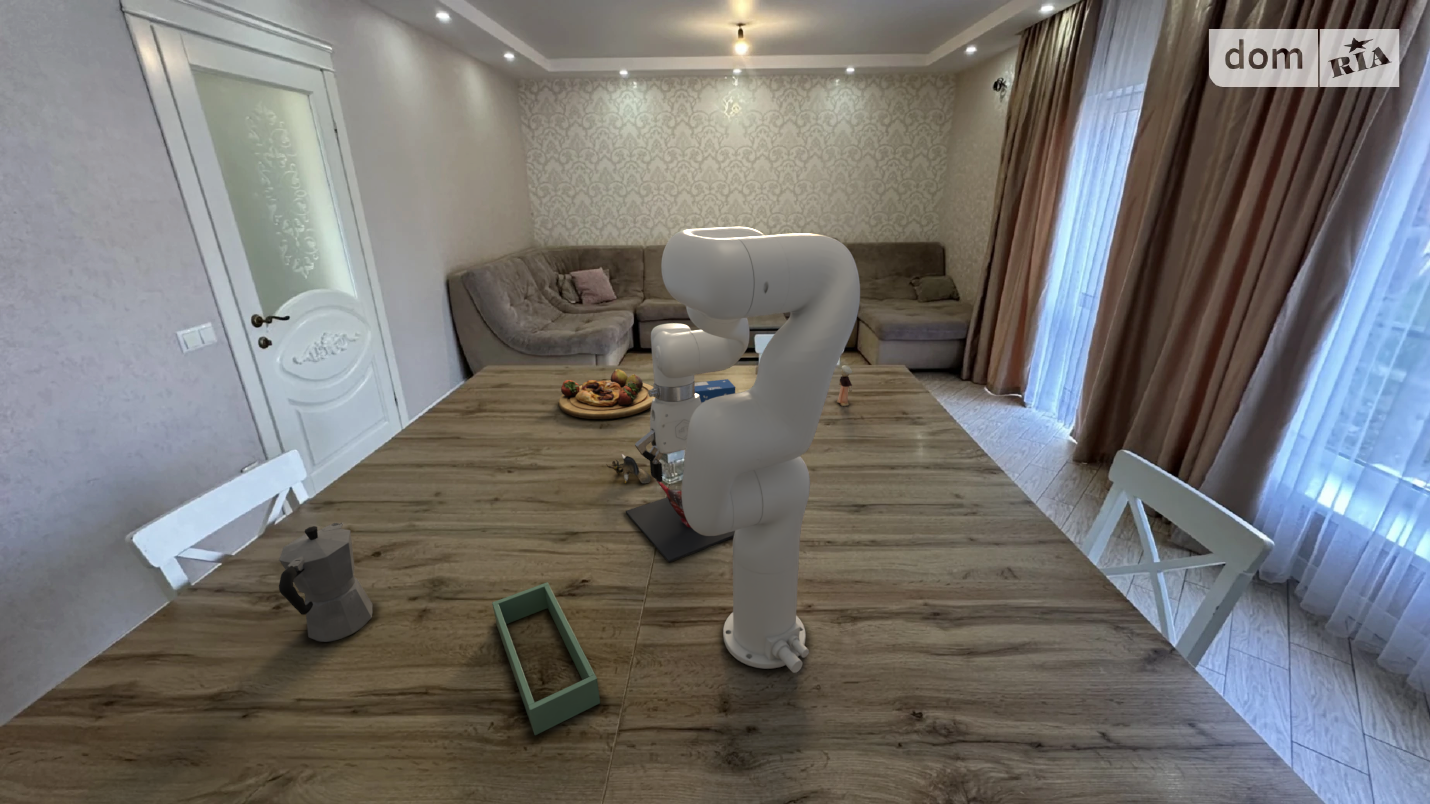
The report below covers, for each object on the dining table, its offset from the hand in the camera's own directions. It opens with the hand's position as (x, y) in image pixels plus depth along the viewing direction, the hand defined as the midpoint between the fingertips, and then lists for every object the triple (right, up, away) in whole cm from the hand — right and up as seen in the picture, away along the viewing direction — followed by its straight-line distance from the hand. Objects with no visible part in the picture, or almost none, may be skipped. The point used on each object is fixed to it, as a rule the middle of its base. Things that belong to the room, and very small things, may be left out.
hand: (679, 472), depth 109 cm
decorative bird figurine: (0, -11, +5) cm, 12 cm away
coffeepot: (-54, -22, -20) cm, 61 cm away
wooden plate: (-27, +14, +71) cm, 77 cm away
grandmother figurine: (+48, +13, +65) cm, 82 cm away
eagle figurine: (-13, -5, +23) cm, 27 cm away
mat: (0, -11, +5) cm, 12 cm away
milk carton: (+7, -1, +32) cm, 33 cm away
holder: (-18, -24, -27) cm, 41 cm away
